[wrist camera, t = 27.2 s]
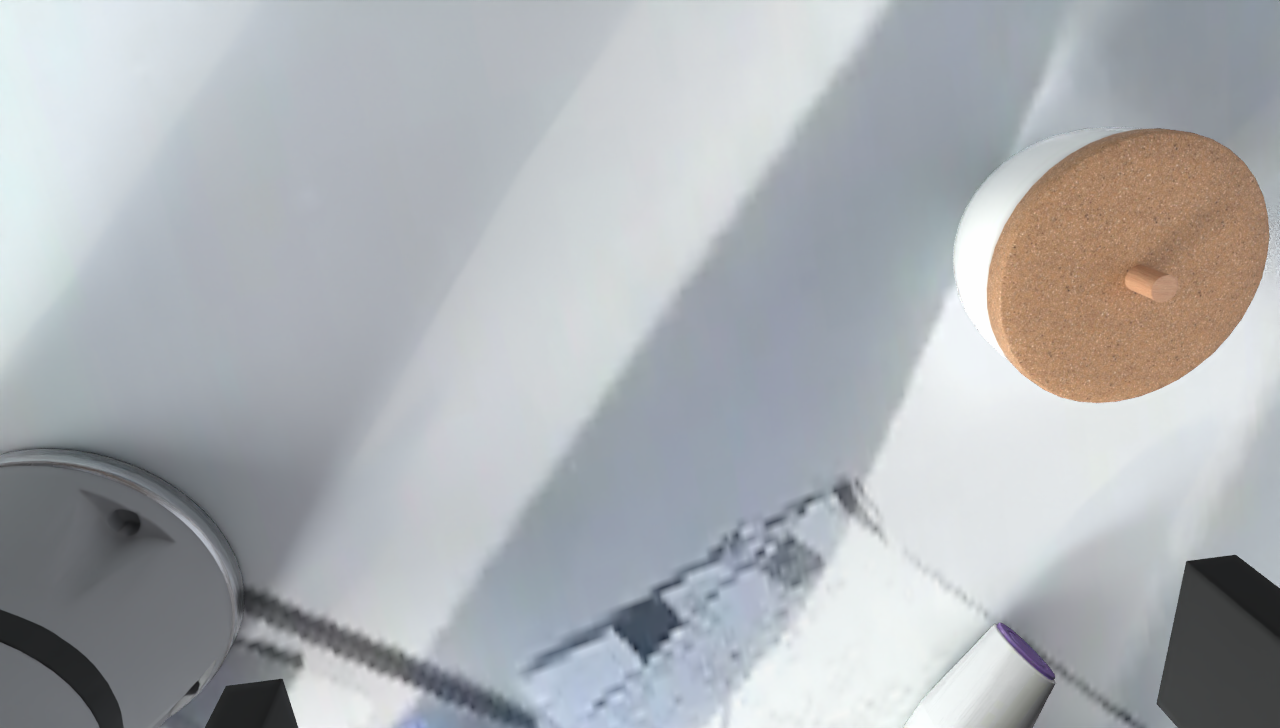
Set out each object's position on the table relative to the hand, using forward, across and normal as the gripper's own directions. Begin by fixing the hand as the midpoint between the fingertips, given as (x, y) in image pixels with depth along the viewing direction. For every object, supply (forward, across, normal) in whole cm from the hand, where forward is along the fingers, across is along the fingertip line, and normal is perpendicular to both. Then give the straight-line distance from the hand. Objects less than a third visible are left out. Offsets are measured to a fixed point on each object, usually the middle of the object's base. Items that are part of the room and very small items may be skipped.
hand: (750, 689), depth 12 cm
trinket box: (+27, +19, -1) cm, 33 cm away
